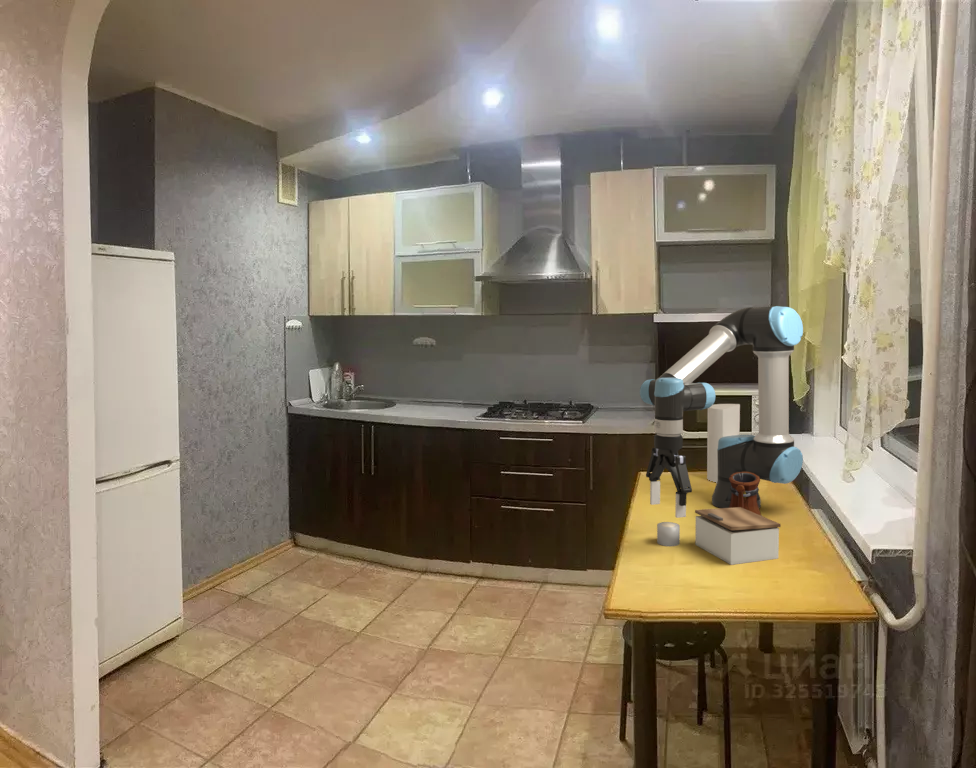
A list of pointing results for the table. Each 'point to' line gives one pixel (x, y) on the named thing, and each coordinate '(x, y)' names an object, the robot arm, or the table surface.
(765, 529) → the box
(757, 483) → the mug
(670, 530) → the grey squat drum
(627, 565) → the table surface
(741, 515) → the lid
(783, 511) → the table surface
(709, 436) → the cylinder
